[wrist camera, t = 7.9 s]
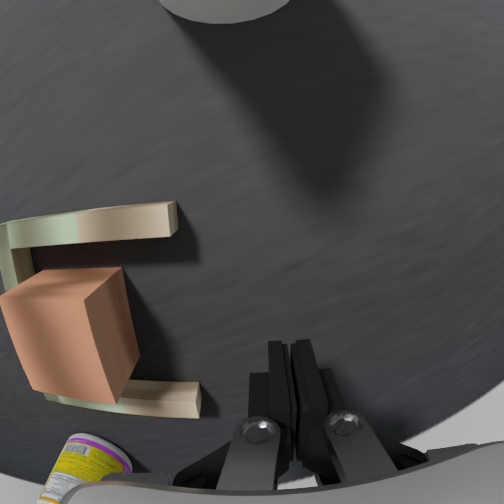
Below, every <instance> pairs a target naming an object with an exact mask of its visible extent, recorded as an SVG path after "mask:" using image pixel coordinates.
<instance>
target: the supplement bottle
mask: <svg viewBox="0 0 504 504" xmlns="http://www.w3.org/2000/svg"><path fill="white" fill-rule="evenodd" d="M110 473H132V464H131V461H130V460H129V458H128V457H127V455H126V454H125V453H124V452H123V451H122V450H121V449H119V448H118V447H117V446H115V445H114V444H112V443H110V442H109V441H106V440H104V439H102V438H100V437H97V436H95V435H91V434H86V433H77V434H74V435H72V436H71V437H70V438H69V439H68V441H67V443H66V444H65V446H64V448H63V450H62V452H61V454H60V456H59V458H58V460H57V462H56V464H55V466H54V468H53V470H52V472H51V474H50V476H49V478H48V480H47V482H46V484H45V486H44V489H43V491H42V493H41V495H40V497H39V499H38V501H37V503H36V504H58V503H59V502H60V500H61V499H62V498H63V496H64V495H65V494H66V493H67V492H68V491H69V490H70V489H72V488H73V487H75V486H77V485H80V484H83V483H88V482H94V481H100V480H101V479H102V478H103V477H104V476H105V475H107V474H110Z"/></svg>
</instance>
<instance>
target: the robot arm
mask: <svg viewBox="0 0 504 504" xmlns="http://www.w3.org/2000/svg"><path fill="white" fill-rule="evenodd" d="M268 362H269V372H266V373H250V382H249V407H248V418H247V419H245V420H242V421H241V422H240V423H239V424H238V425H237V426H236V428H235V431H234V434H233V437H232V440H231V441H230V442H228V443H227V444H225V445H224V446H222V447H220V448H219V449H217V450H216V451H214V452H212V453H211V454H209V455H207V456H206V457H204V458H202V459H200V460H199V461H197V462H195V463H194V464H192V465H190V466H188V467H186V468H185V469H183V470H181V471H180V472H179V473H177V474H176V475H168V473H167V472H165V473H110V474H107V475H105V476H104V477H103V478H102V479H101V480H100V481H94V482H88V483H83V484H80V485H77V486H75V487H73V488H72V489H70V490H69V491H68V492H67V493H66V494H65V495H64V496H63V498H62V499H61V500H60V502H59V503H58V504H504V441H497V442H490V443H485V444H480V445H477V444H465V445H459V446H453V447H447V448H440V449H432V450H427V452H426V453H422V452H420V451H418V450H417V449H414V448H411V447H408V446H406V445H403V444H401V443H398V442H395V441H393V440H390V439H388V438H385V437H383V436H380V435H378V434H375V433H374V431H373V430H372V428H371V426H370V425H369V423H368V422H367V420H366V419H365V417H364V416H363V415H362V414H360V413H358V412H356V411H352V410H345V408H344V405H343V402H342V399H341V396H340V393H339V390H338V387H337V384H336V382H335V379H334V376H333V373H332V370H331V369H330V368H328V369H318V366H317V362H316V359H315V355H314V352H313V348H312V345H311V342H310V339H304V340H296V343H295V344H291V356H290V359H289V353H288V347H287V344H282V341H268ZM294 442H295V449H296V457H297V461H300V460H302V463H303V468H306V467H307V468H308V469H309V470H311V471H313V472H315V479H316V482H317V485H318V486H317V487H308V488H297V489H285V490H284V489H283V490H277V489H278V482H279V477H280V476H282V475H283V474H284V473H285V472H286V471H287V470H289V461H293V453H294Z"/></svg>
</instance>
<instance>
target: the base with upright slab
mask: <svg viewBox="0 0 504 504" xmlns="http://www.w3.org/2000/svg"><path fill="white" fill-rule="evenodd" d="M159 1H160V3H161V4H162V6H164V7H165V8H166V9H168V10H169V11H171V12H172V13H173V14H175V15H177V16H180V17H183V18H185V19H188V20H191V21H197V22H203V23H209V24H232V23H238V22H243V21H249V20H254V19H257V18H260V17H262V16H265V15H268V14H271V13H273V12H274V11H276V10H277V9H279V8H281V7H282V6H284V5H286V4H287V3H288V2H289V0H159Z"/></svg>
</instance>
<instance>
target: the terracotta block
mask: <svg viewBox="0 0 504 504" xmlns="http://www.w3.org/2000/svg"><path fill="white" fill-rule="evenodd" d="M0 305H1V308H2V312H3V315H4V318H5V321H6V324H7V327H8V330H9V333H10V336H11V338H12V341H13V344H14V346H15V349H16V352H17V354H18V357H19V359H20V361H21V364H22V366H23V369H24V371H25V373H26V375H27V378H28V380H29V382H30V384H31V386H32V388H33V390H37V391H41V392H45V393H49V394H54V395H59V396H64V397H69V398H74V399H80V400H85V401H92V402H98V403H105V404H113V405H117V403H118V401H119V399H120V396H121V394H122V392H123V390H124V388H125V386H126V384H127V382H128V380H129V378H130V376H131V374H132V372H133V370H134V368H135V366H136V363H137V361H138V359H139V357H140V352H139V348H138V344H137V340H136V336H135V332H134V327H133V323H132V318H131V313H130V308H129V303H128V298H127V293H126V287H125V282H124V276H123V270H122V267H105V268H77V269H48V270H42V271H41V272H39V273H37V274H36V275H34V276H32V277H30V278H29V279H27V280H25V281H24V282H22V283H20V284H19V285H17V286H15V287H14V288H12V289H11V290H9V291H7V292H6V293H4V294H3V295H1V296H0Z"/></svg>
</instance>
